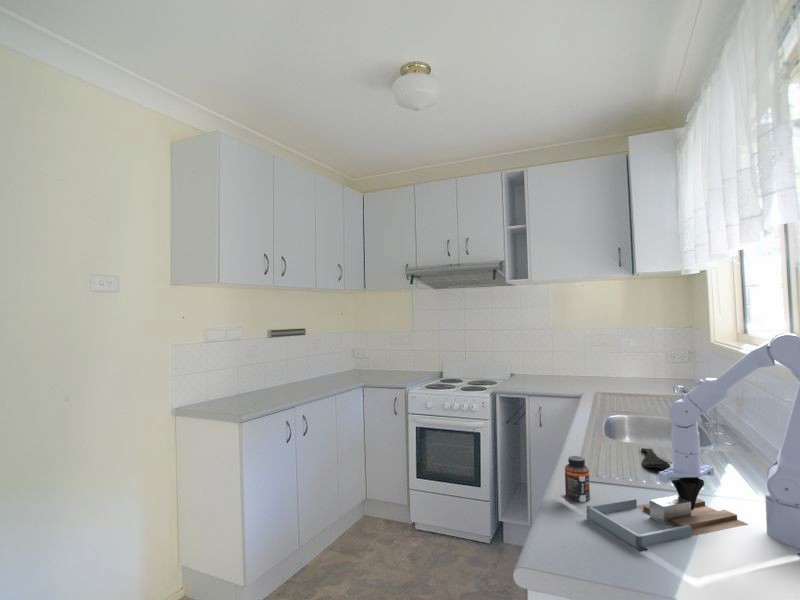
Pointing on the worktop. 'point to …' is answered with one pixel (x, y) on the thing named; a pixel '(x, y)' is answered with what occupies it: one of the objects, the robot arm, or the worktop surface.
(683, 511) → the chip
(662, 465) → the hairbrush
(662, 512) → the chip
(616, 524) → the tray
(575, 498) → the supplement bottle
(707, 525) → the slot board
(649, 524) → the worktop surface
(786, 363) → the robot arm
